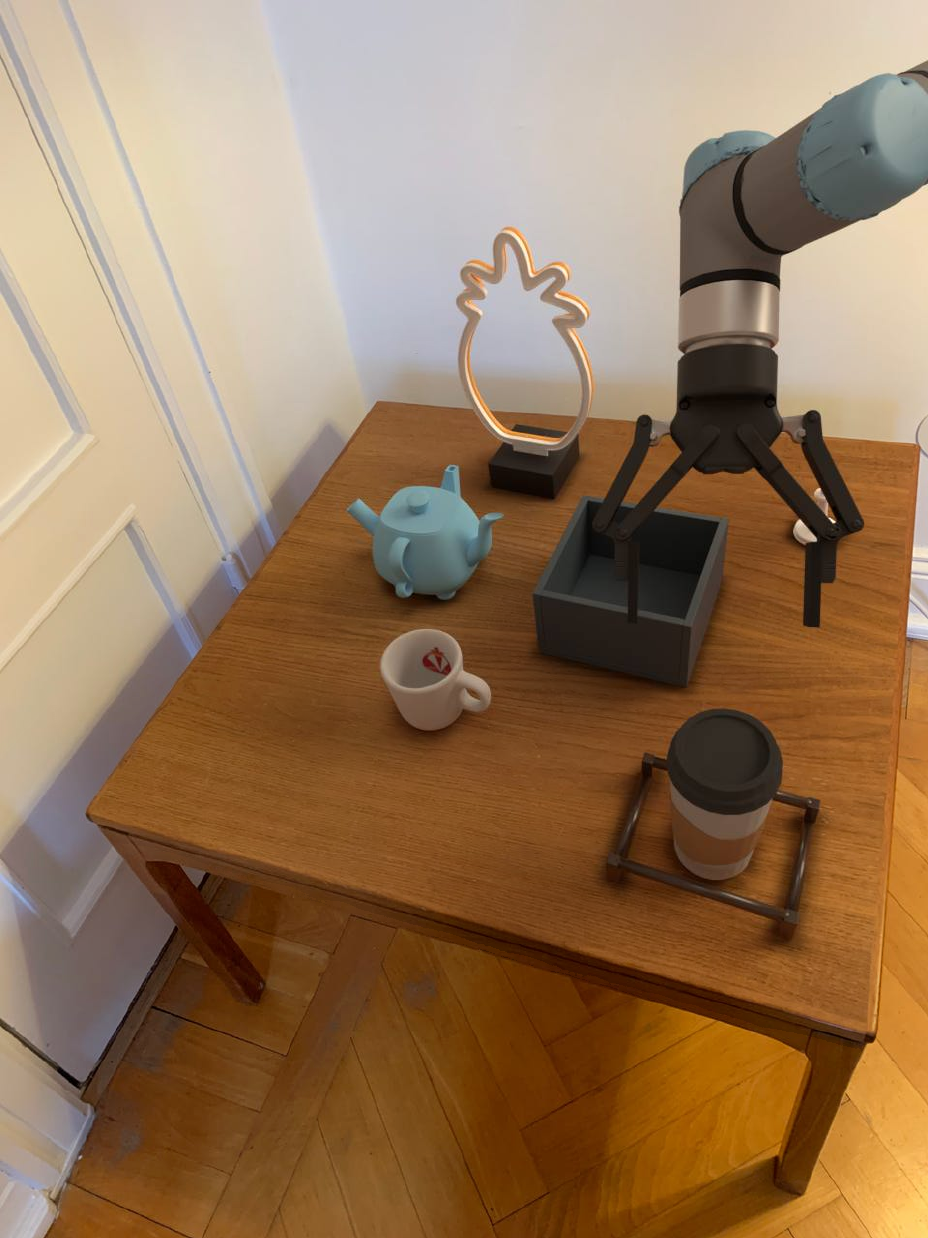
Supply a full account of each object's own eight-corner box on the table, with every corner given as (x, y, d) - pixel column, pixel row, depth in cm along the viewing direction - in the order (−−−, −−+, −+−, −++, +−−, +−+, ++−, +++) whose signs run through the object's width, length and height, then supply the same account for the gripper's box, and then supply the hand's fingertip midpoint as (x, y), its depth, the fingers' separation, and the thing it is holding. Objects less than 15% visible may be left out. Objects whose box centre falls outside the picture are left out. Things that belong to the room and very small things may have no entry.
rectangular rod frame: (815, 818, 74) (821, 799, 71) (791, 940, 67) (797, 924, 65) (644, 770, 79) (644, 751, 77) (606, 879, 73) (605, 862, 70)
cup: (510, 695, 87) (501, 644, 82) (479, 758, 83) (468, 708, 77) (416, 670, 91) (402, 620, 86) (382, 729, 87) (364, 679, 81)
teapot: (478, 517, 107) (465, 442, 99) (514, 588, 98) (503, 512, 89) (360, 554, 106) (337, 481, 97) (386, 629, 96) (363, 556, 88)
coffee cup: (785, 855, 72) (812, 754, 61) (712, 914, 69) (727, 820, 58) (711, 788, 77) (724, 684, 66) (641, 841, 74) (643, 742, 64)
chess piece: (841, 522, 98) (858, 450, 90) (837, 551, 95) (855, 478, 87) (795, 516, 99) (809, 445, 92) (790, 544, 96) (803, 473, 89)
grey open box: (722, 580, 94) (729, 518, 87) (686, 688, 85) (691, 627, 78) (585, 555, 100) (582, 494, 93) (538, 652, 91) (532, 593, 84)
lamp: (608, 462, 111) (603, 212, 88) (584, 505, 106) (571, 251, 83) (491, 442, 117) (458, 205, 94) (463, 481, 112) (421, 241, 89)
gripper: (886, 358, 68) (877, 625, 69) (570, 370, 73) (566, 618, 74) (915, 331, 61) (904, 631, 62) (562, 347, 66) (557, 623, 67)
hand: (720, 625), depth 68 cm, fingers open, 13 cm apart
